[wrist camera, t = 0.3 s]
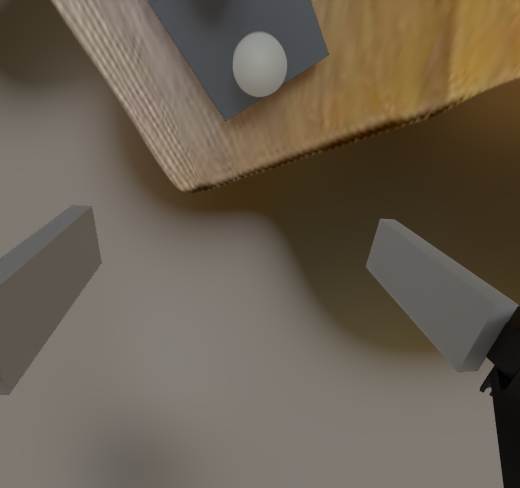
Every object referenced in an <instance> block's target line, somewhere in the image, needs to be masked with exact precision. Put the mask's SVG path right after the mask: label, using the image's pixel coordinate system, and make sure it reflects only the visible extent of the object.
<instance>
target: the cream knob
mask: <svg viewBox="0 0 520 488" xmlns="http://www.w3.org/2000/svg"><path fill="white" fill-rule="evenodd" d="M286 72H287V59H286V55H285V52H284V50H283V48H282V46H281V45H280V43H279V42H278V40H277V39H276V38H275V37H274V36H273V35H272V34H270V33H268V32H266V31H262V30H255V31H251V32H249V33H247V34H245V35H244V36H243V37H242V38H241V39H240V40H239V42H238V43H237V45H236V47H235V50H234V55H233V73H234V77H235V80H236V82H237V84H238V85H239V87H240V88H241V89H242V90H243V91H244V92H246V93H247V94H249V95H251V96H255V97H264V96H268V95H270V94H272V93H274V92H275V91H276V90H277V89H278V88H279V87H280V86H281V84H282V83H283V81H284V79H285V76H286Z"/></svg>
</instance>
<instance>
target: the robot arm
mask: <svg viewBox="0 0 520 488" xmlns="http://www.w3.org/2000/svg"><path fill="white" fill-rule="evenodd" d="M101 263H102V262H101V256H100V250H99V244H98V238H97V233H96V227H95V221H94V215H93V209H92V206H78V205H72V206H70V207H69V208H68V209H66V210H65V211H63V212H62V213H61V214H59V215H58V216H57V217H55V218H54V219H53V220H51V221H50V222H49V223H47V224H46V225H44V226H43V227H42V228H41V229H39V230H38V231H36V232H35V233H34V234H32V235H31V236H30V237H28V238H27V239H26V240H24V241H23V242H21V243H20V244H19V245H17V246H16V247H15V248H13V249H12V250H11V251H9V252H8V253H7V254H5V255H4V256H2V257H1V258H0V395H9V394H10V393H11V391H12V390H13V389H14V387H15V386H16V384H17V383H18V381H19V380H20V378H21V377H22V376H23V374H24V373H25V371H26V370H27V368H28V367H29V366H30V364H31V363H32V361H33V360H34V358H35V357H36V356H37V354H38V353H39V351H40V350H41V349H42V347H43V346H44V344H45V343H46V342H47V340H48V339H49V337H50V336H51V334H52V333H53V331H54V330H55V329H56V327H57V326H58V324H59V323H60V322H61V320H62V319H63V317H64V316H65V314H66V313H67V312H68V310H69V309H70V307H71V306H72V304H73V303H74V302H75V300H76V299H77V297H78V296H79V295H80V293H81V292H82V290H83V289H84V287H85V286H86V284H87V283H88V282H89V280H90V279H91V277H92V276H93V274H94V273H95V272H96V270H97V269H98V267H99V266H100V264H101ZM366 268H367V269H368V270H369V271H370V272H371V273H372V275H373V276H374V277H375V278H376V279H377V280H378V281H379V283H380V284H381V285H382V286H383V287H384V288H385V289H386V291H387V292H388V293H389V294H390V295H391V296H392V297H393V299H394V300H395V301H396V302H397V303H398V304H399V305H400V307H401V308H402V309H403V310H404V311H405V312H406V313H407V314H408V316H409V317H410V318H411V319H412V320H413V321H414V323H415V324H416V325H417V326H418V327H419V328H420V329H421V330H422V332H423V333H424V334H425V335H426V336H427V337H428V339H429V340H430V341H431V342H432V343H433V344H434V345H435V347H436V348H437V349H438V350H439V351H440V352H441V353H442V355H443V356H444V357H445V358H446V359H447V360H448V361H449V363H450V364H451V365H452V366H453V367H454V368H455V369H456V371H457V372H465V371H478V370H479V368H480V366H481V365H482V363H483V362H484V360H485V358H486V357H487V358H488V359H489V360H490V361H491V362H492V363H493V364H494V367H493V368H492V370H491V372H490V373H489V375H488V376H487V378H486V379H485V381H484V382H483V384H482V385H481V387H480V391H481V392H484V391H485V389H486V388H489V387H491V388H492V391H491V393H490V396H492V397H493V404H494V412H495V421H496V428H497V435H498V436H497V437H498V444H499V453H500V461H501V468H502V476H503V485H504V488H520V307H519V306H518V304H516V303H515V302H513V301H512V300H511V299H509V298H508V297H506V296H505V295H503V294H502V293H500V292H499V291H498V290H496V289H495V288H493V287H492V286H490V285H489V284H487V283H486V282H484V281H483V280H482V279H480V278H479V277H477V276H476V275H474V274H473V273H471V272H470V271H468V270H467V269H466V268H464V267H463V266H461V265H460V264H458V263H457V262H455V261H454V260H453V259H451V258H450V257H448V256H447V255H445V254H444V253H442V252H441V251H439V250H438V249H436V248H435V247H434V246H432V245H431V244H429V243H428V242H426V241H425V240H423V239H422V238H421V237H419V236H418V235H416V234H415V233H413V232H412V231H410V230H409V229H408V228H406V227H405V226H403V225H402V224H400V223H399V222H397V221H396V220H392V219H380V221H379V225H378V228H377V231H376V235H375V238H374V241H373V245H372V248H371V252H370V255H369V258H368V261H367V265H366Z"/></svg>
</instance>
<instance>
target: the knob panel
mask: <svg viewBox="0 0 520 488" xmlns="http://www.w3.org/2000/svg"><path fill="white" fill-rule="evenodd" d="M147 1H148V2H149V4H150V6H151V7H152V9H153V10H154V12H155V13H156V15H157V16H158V18H159V19H160V21H161V23H162V24H163V26H164V27H165V29H166V30H167V32H168V33H169V35H170V36H171V38H172V40H173V41H174V43H175V44H176V46H177V47H178V49H179V50H180V52H181V53H182V55H183V57H184V58H185V60H186V61H187V63H188V64H189V66H190V67H191V69H192V70H193V72H194V74H195V75H196V77H197V78H198V80H199V81H200V83H201V84H202V86H203V87H204V89H205V91H206V92H207V94H208V95H209V97H210V98H211V100H212V101H213V103H214V104H215V106H216V108H217V109H218V111H219V112H220V114H221V115H222V117H223V118H224V120H225V121H227V120H228V119H230V118H231V117H233V116H234V115H236V114H238V113H239V112H241V111H242V110H244V109H245V108H247V107H248V106H250V105H252V104H253V103H255V102H256V101H258V100H259V99H261V98H263V97H255V96H251V95H249V94H247V93H246V92H244V91H243V90H242V89H241V88H240V87H239V85H238V84H237V82H236V80H235V77H234V73H233V55H234V50H235V47H236V45H237V43H238V42H239V40H240V39H241V38H242V37H243V36H244V35H245V34H247V33H249V32H251V31H255V30H262V31H266V32H268V33H270V34H272V35H273V36H274V37H275V38H276V39H277V40H278V42H279V43H280V45H281V46H282V48H283V50H284V52H285V55H286V59H287V72H286V76H285V79H284V81H283V83H282V84H281V85H283V84H285V83H286V82H288V81H289V80H291V79H292V78H294V77H295V76H297V75H299V74H300V73H302V72H303V71H305V70H306V69H308V68H310V67H311V66H313V65H314V64H316V63H317V62H319V61H321V60H322V59H324V58H325V57H327V56H328V55H329V53H328V50H327V47H326V44H325V42H324V39H323V36H322V33H321V30H320V27H319V24H318V21H317V18H316V15H315V12H314V10H313V7H312V4H311V1H310V0H147Z"/></svg>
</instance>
